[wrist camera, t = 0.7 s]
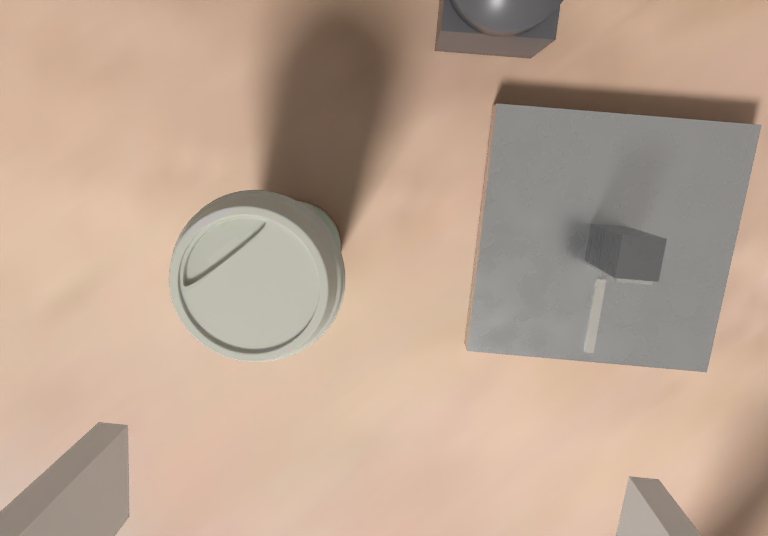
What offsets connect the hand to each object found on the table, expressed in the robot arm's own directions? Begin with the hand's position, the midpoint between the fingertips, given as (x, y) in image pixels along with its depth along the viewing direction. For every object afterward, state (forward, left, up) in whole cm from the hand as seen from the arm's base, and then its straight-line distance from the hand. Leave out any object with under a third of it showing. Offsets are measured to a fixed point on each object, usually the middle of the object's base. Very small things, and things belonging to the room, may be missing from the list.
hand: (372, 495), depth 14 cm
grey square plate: (-4, +14, -23) cm, 27 cm away
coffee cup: (-2, -6, -23) cm, 24 cm away
